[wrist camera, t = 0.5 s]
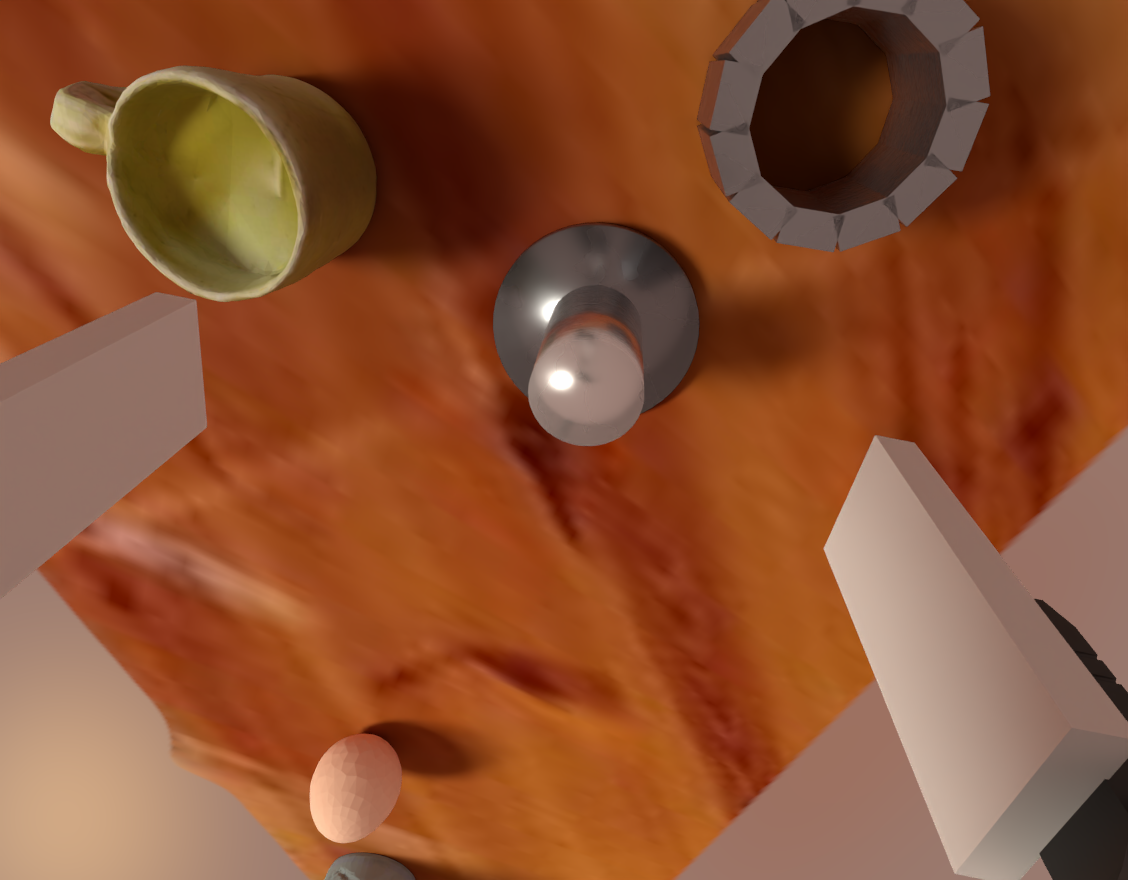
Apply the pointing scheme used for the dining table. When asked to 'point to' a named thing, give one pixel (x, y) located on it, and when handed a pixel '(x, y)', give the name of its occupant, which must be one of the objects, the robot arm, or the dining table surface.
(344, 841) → the egg
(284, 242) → the mug
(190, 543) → the dining table surface
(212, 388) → the dining table surface
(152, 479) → the dining table surface
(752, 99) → the ring
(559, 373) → the piston post
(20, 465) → the robot arm
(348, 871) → the grey cup
